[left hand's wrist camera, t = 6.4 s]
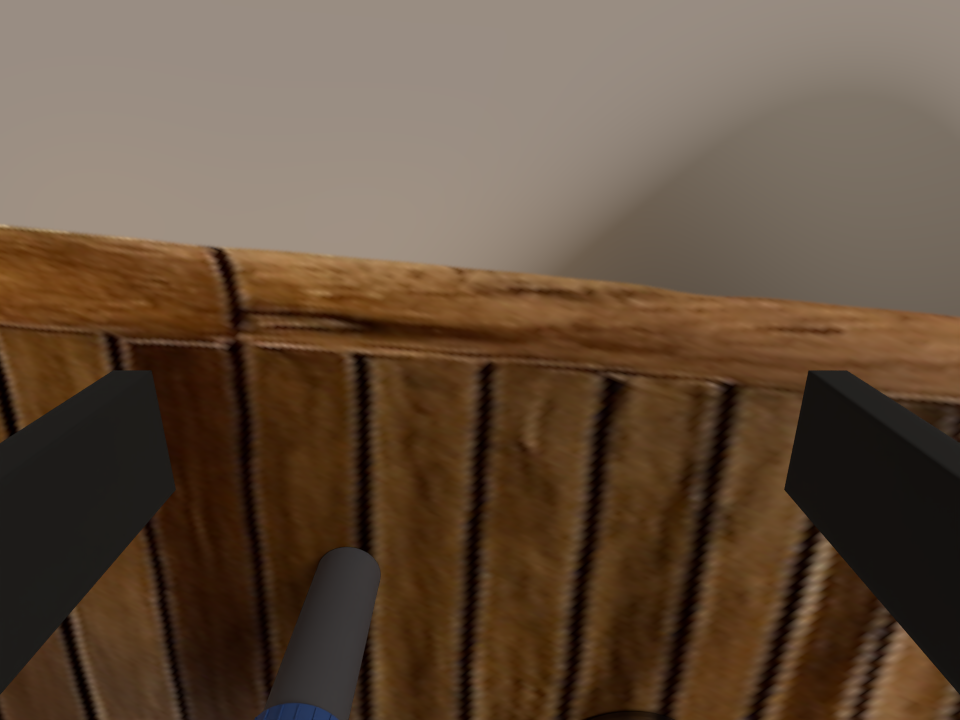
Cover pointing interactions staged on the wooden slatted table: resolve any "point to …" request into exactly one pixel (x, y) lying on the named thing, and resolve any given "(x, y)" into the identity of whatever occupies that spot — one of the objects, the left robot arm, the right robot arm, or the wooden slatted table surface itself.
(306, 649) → the grey bottle
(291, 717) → the lid
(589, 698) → the wooden slatted table surface
